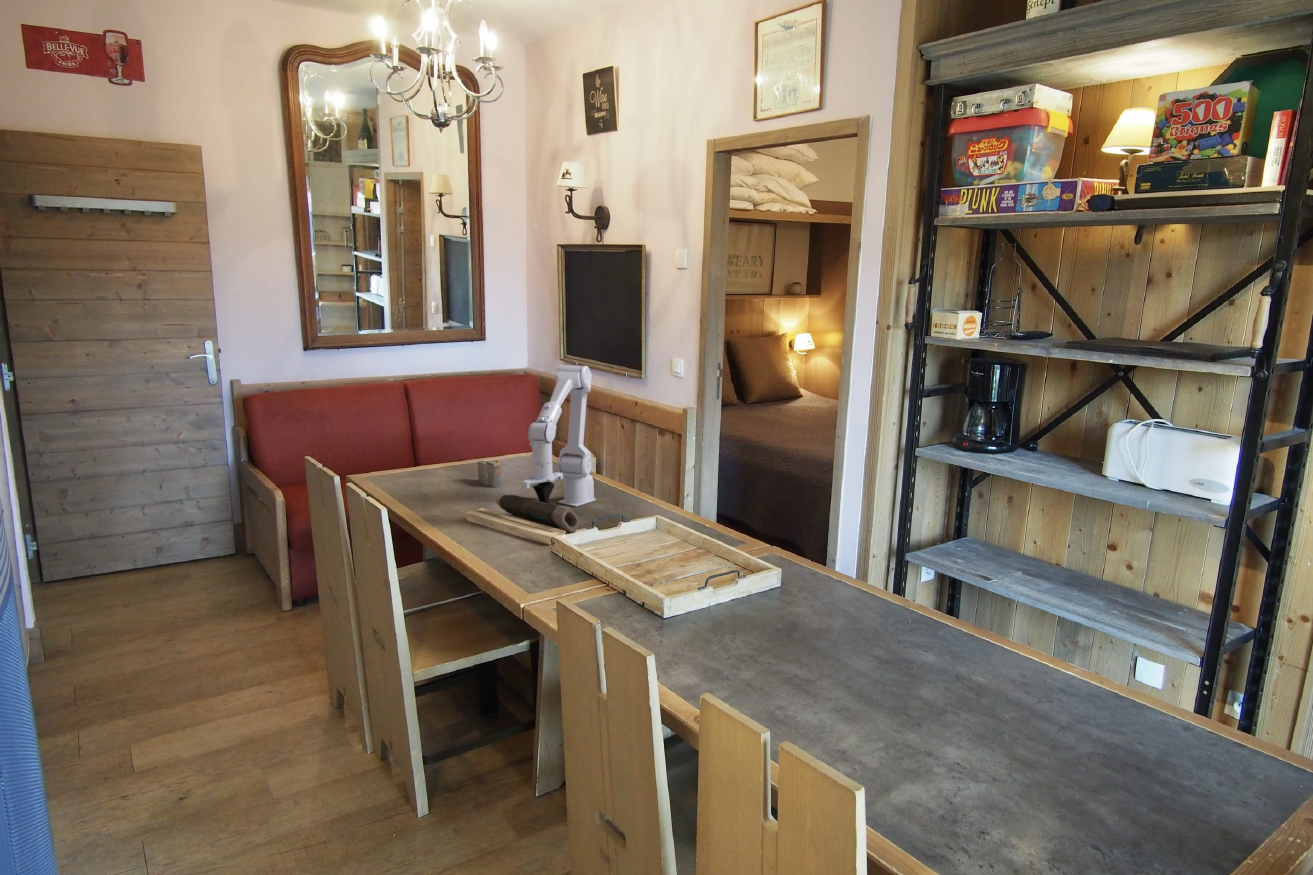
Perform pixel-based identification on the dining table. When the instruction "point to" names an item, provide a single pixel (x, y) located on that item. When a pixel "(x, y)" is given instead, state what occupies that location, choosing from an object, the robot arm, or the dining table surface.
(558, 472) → the robot arm
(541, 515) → the tube
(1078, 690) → the dining table surface
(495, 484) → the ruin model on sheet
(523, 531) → the plank
